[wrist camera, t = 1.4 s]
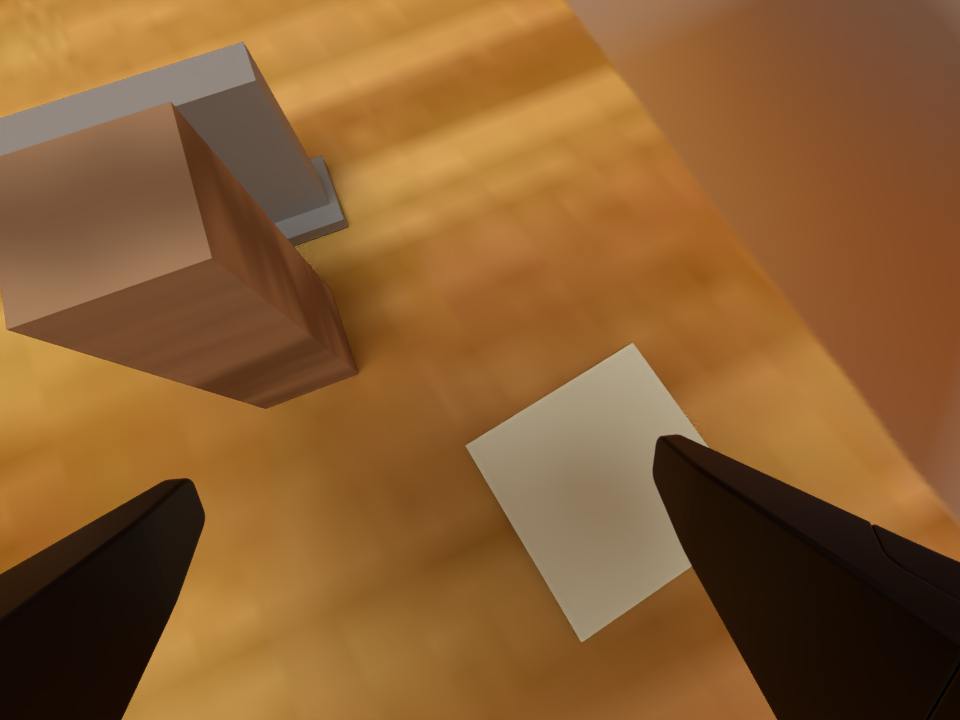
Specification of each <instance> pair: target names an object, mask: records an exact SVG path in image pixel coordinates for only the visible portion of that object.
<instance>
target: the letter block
mask: <svg viewBox="0 0 960 720" xmlns="http://www.w3.org/2000/svg"><path fill="white" fill-rule="evenodd" d="M0 284H1V291H2V299H3V306H4V314H5V321H6V329H7V330H9V331H13V332H16V333H19V334H22V335H26V336H29V337H32V338H35V339H39V340H42V341H45V342H49V343H52V344H55V345H58V346H62V347H65V348H68V349H72V350H75V351H78V352H81V353H85V354H88V355H91V356H94V357H98V358H101V359H104V360H108V361H111V362H114V363H117V364H121V365H124V366H127V367H130V368H134V369H137V370H140V371H144V372H147V373H150V374H153V375H157V376H160V377H163V378H166V379H170V380H173V381H176V382H180V383H183V384H186V385H189V386H193V387H196V388H199V389H202V390H206V391H209V392H212V393H216V394H219V395H222V396H225V397H229V398H232V399H235V400H238V401H242V402H245V403H248V404H252V405H255V406H258V407H261V408H265V409H266V408H269V407H271V406H274V405H277V404H279V403H282V402H285V401H287V400H290V399H293V398H295V397H298V396H301V395H303V394H306V393H309V392H311V391H314V390H317V389H319V388H322V387H325V386H327V385H330V384H333V383H335V382H338V381H341V380H343V379H346V378H349V377H351V376H354V375H357V374H358V371H357V368H356V365H355V362H354V359H353V356H352V353H351V350H350V347H349V344H348V341H347V338H346V335H345V331H344V328H343V325H342V322H341V319H340V316H339V313H338V310H337V307H336V304H335V301H334V298H333V295H332V292H331V290H330V289H329V288H328V286H327V285H326V284H325V283H324V282H323V280H322V279H321V278H320V277H319V276H318V275H317V273H316V272H315V271H314V270H313V269H312V267H311V266H310V265H309V264H308V263H307V262H306V260H305V259H304V258H303V257H302V256H301V255H300V253H299V252H298V251H297V250H296V249H295V247H294V246H293V245H292V244H291V243H290V242H289V240H288V239H287V238H286V237H285V236H284V234H283V233H282V232H281V231H280V230H279V229H278V227H277V226H276V225H275V224H274V223H273V221H272V220H271V219H270V218H269V217H268V216H267V214H266V213H265V212H264V211H263V210H262V208H261V207H260V206H259V205H258V204H257V203H256V201H255V200H254V199H253V198H252V197H251V196H250V194H249V193H248V192H247V191H246V190H245V188H244V187H243V186H242V185H241V184H240V183H239V181H238V180H237V179H236V178H235V177H234V175H233V174H232V173H231V172H230V171H229V170H228V168H227V167H226V166H225V165H224V164H223V162H222V161H221V160H220V159H219V158H218V157H217V155H216V154H215V153H214V152H213V151H212V150H211V148H210V147H209V146H208V145H207V144H206V142H205V141H204V140H203V139H202V138H201V137H200V135H199V134H198V133H197V132H196V131H195V129H194V128H193V127H192V126H191V125H190V124H189V122H188V121H187V120H186V119H185V118H184V116H183V115H182V114H181V113H180V112H179V111H178V109H177V108H176V107H175V106H174V105H173V104H172V102H171V101H170V102H167V103H164V104H161V105H158V106H155V107H152V108H148V109H145V110H142V111H139V112H136V113H133V114H130V115H127V116H124V117H120V118H117V119H114V120H111V121H108V122H105V123H102V124H99V125H96V126H92V127H89V128H86V129H83V130H80V131H77V132H74V133H71V134H68V135H64V136H61V137H58V138H55V139H52V140H49V141H46V142H43V143H39V144H36V145H33V146H30V147H27V148H24V149H21V150H18V151H15V152H11V153H8V154H5V155H2V156H0Z"/></svg>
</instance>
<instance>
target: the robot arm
mask: <svg viewBox="0 0 960 720" xmlns="http://www.w3.org/2000/svg"><path fill="white" fill-rule="evenodd" d="M652 474H653V479H654V483H655V485H656V487H657V490H658V492H659V495H660V497H661V499H662V502H663V504H664V506H665V509H666V511H667V513H668V516H669V518H670V521H671V523H672V525H673V528H674V530H675V532H676V535H677V537H678V539H679V542H680V544H681V546H682V548H683V550H684V552H685V554H686V556H687V558H688V560H689V562H690V563H691V565H692V567H693V569H694V571H695V572H696V574H697V576H698V578H699V580H700V581H701V583H702V585H703V587H704V589H705V590H706V592H707V594H708V596H709V598H710V599H711V601H712V603H713V605H714V607H715V608H716V610H717V612H718V614H719V616H720V617H721V619H722V621H723V623H724V625H725V626H726V628H727V630H728V632H729V634H730V635H731V637H732V639H733V641H734V643H735V644H736V646H737V648H738V650H739V652H740V653H741V655H742V657H743V659H744V661H745V662H746V664H747V666H748V668H749V670H750V671H751V673H752V675H753V677H754V679H755V680H756V682H757V684H758V686H759V688H760V689H761V691H762V693H763V695H764V697H765V698H766V700H767V702H768V704H769V706H770V707H771V709H772V711H773V713H774V715H775V716H776V718H777V720H960V562H958V561H956V560H954V559H951V558H949V557H946V556H944V555H942V554H939V553H937V552H935V551H933V550H931V549H928V548H926V547H924V546H922V545H919V544H917V543H915V542H913V541H910V540H908V539H906V538H904V537H901V536H899V535H897V534H895V533H893V532H891V531H888V530H886V529H884V528H882V527H880V526H878V525H871V523H870V522H869V521H867V520H864V519H862V518H860V517H858V516H856V515H853V514H851V513H849V512H847V511H845V510H843V509H840V508H838V507H836V506H834V505H832V504H830V503H827V502H825V501H823V500H821V499H819V498H817V497H814V496H812V495H810V494H808V493H806V492H803V491H801V490H799V489H797V488H795V487H793V486H790V485H788V484H786V483H784V482H782V481H780V480H777V479H775V478H773V477H771V476H769V475H767V474H764V473H762V472H760V471H758V470H756V469H753V468H751V467H749V466H747V465H745V464H743V463H740V462H738V461H736V460H734V459H732V458H730V457H727V456H725V455H723V454H721V453H719V452H717V451H714V450H712V449H710V448H708V447H706V446H704V445H701V444H699V443H697V442H695V441H693V440H691V439H688V438H686V437H684V436H682V435H678V434H675V435H664V436H660V437H659V438H658V439H657V441H656V445H655V453H654V460H653V468H652ZM204 522H205V513H204V509H203V507H202V504H201V501H200V498H199V496H198V493H197V490H196V488H195V485H194V483H193V482H192V481H191V480H190V479H188V478H182V479H170V480H165V481H163V482H161V483H159V484H157V485H156V486H154V487H152V488H150V489H149V490H147V491H145V492H143V493H142V494H140V495H138V496H136V497H135V498H133V499H131V500H129V501H128V502H126V503H124V504H122V505H121V506H119V507H117V508H115V509H114V510H112V511H110V512H108V513H107V514H105V515H103V516H102V517H100V518H98V519H96V520H95V521H93V522H91V523H89V524H88V525H86V526H84V527H82V528H81V529H79V530H77V531H75V532H74V533H72V534H70V535H68V536H67V537H65V538H63V539H61V540H60V541H58V542H56V543H54V544H53V545H51V546H49V547H47V548H46V549H44V550H42V551H40V552H39V553H37V554H35V555H33V556H32V557H30V558H28V559H26V560H25V561H23V562H21V563H19V564H18V565H16V566H14V567H12V568H11V569H9V570H7V571H6V572H4V573H2V574H0V720H122V718H123V715H124V713H125V711H126V709H127V707H128V705H129V703H130V701H131V698H132V696H133V694H134V692H135V690H136V688H137V686H138V684H139V681H140V679H141V677H142V675H143V673H144V671H145V669H146V667H147V664H148V662H149V660H150V658H151V656H152V654H153V652H154V650H155V647H156V645H157V643H158V641H159V639H160V637H161V635H162V633H163V630H164V628H165V626H166V624H167V622H168V620H169V618H170V615H171V613H172V611H173V609H174V606H175V604H176V602H177V599H178V597H179V594H180V591H181V589H182V586H183V583H184V580H185V577H186V575H187V572H188V569H189V566H190V563H191V560H192V558H193V555H194V552H195V549H196V546H197V543H198V541H199V538H200V535H201V532H202V529H203V526H204Z"/></svg>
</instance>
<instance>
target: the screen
mask: <svg viewBox="0 0 960 720" xmlns="http://www.w3.org/2000/svg"><path fill="white" fill-rule="evenodd" d="M170 101H171V102H172V104H173V105H174V106H175V107H176V108H177V109H178V111H179V112H180V113H181V114H182V115H183V116H184V118H185V119H186V120H187V121H188V122H189V124H190V125H191V126H192V127H193V128H194V129H195V131H196V132H197V133H198V134H199V135H200V137H201V138H202V139H203V140H204V141H205V142H206V144H207V145H208V146H209V147H210V148H211V150H212V151H213V152H214V153H215V154H216V155H217V157H218V158H219V159H220V160H221V161H222V162H223V164H224V165H225V166H226V167H227V168H228V170H229V171H230V172H231V173H232V174H233V175H234V177H235V178H236V179H237V180H238V181H239V183H240V184H241V185H242V186H243V187H244V188H245V190H246V191H247V192H248V193H249V194H250V196H251V197H252V198H253V199H254V200H255V201H256V203H257V204H258V205H259V206H260V207H261V208H262V210H263V211H264V212H265V213H266V214H267V216H268V217H269V218H270V219H271V220H272V221H273V223H274V224H275V225H276V226H277V227H278V229H279V230H280V231H281V232H282V233H283V234H284V236H285V237H286V238H287V239H288V240H289V242H290V243H291V244H292V245H293V246H296V245H299V244H301V243H304V242H307V241H310V240H313V239H316V238H319V237H321V236H324V235H327V234H330V233H333V232H336V231H338V230H341V229H344V228H347V227H348V225H347V222H346V220H345V217H344V214H343V211H342V208H341V205H340V203H339V200H338V197H337V194H336V191H335V188H334V186H333V183H332V180H331V177H330V174H329V171H328V169H327V166H326V164H325V162H324V160H323V158H322V156H318V157H315V158H312V159H309V157H308V155H307V154H306V152H305V150H304V148H303V146H302V145H301V143H300V141H299V139H298V138H297V136H296V134H295V132H294V131H293V129H292V127H291V125H290V123H289V122H288V120H287V118H286V116H285V115H284V113H283V111H282V109H281V107H280V106H279V104H278V102H277V100H276V99H275V97H274V95H273V93H272V92H271V90H270V88H269V86H268V84H267V83H266V81H265V79H264V77H263V76H262V74H261V72H260V70H259V69H258V67H257V65H256V63H255V61H254V60H253V58H252V56H251V54H250V53H249V51H248V49H247V47H246V45H245V44H244V42H240V43H237V44H234V45H231V46H228V47H224V48H221V49H218V50H215V51H212V52H209V53H205V54H202V55H199V56H196V57H193V58H190V59H186V60H183V61H180V62H177V63H174V64H171V65H167V66H164V67H161V68H158V69H155V70H152V71H148V72H145V73H142V74H139V75H136V76H133V77H129V78H126V79H123V80H120V81H117V82H113V83H110V84H107V85H104V86H101V87H98V88H94V89H91V90H88V91H85V92H82V93H79V94H75V95H72V96H69V97H66V98H63V99H60V100H56V101H53V102H50V103H47V104H44V105H41V106H37V107H34V108H31V109H28V110H25V111H22V112H18V113H15V114H12V115H9V116H6V117H3V118H0V156H2V155H5V154H8V153H11V152H15V151H18V150H21V149H24V148H27V147H30V146H33V145H36V144H39V143H43V142H46V141H49V140H52V139H55V138H58V137H61V136H64V135H68V134H71V133H74V132H77V131H80V130H83V129H86V128H89V127H92V126H96V125H99V124H102V123H105V122H108V121H111V120H114V119H117V118H120V117H124V116H127V115H130V114H133V113H136V112H139V111H142V110H145V109H148V108H152V107H155V106H158V105H161V104H164V103H167V102H170Z"/></svg>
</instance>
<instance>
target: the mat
mask: <svg viewBox="0 0 960 720" xmlns="http://www.w3.org/2000/svg"><path fill="white" fill-rule="evenodd" d="M675 434H678V435H682V436H684V437H686V438H688V439H691V440H693V441H695V442H697V443H699V444H701V445H704V446H706V447H708V446H707V445H706V443H705V442H704V440H703V439H702V438H701V436H700V435H699V433H698V432H697V431H696V429H695V428H694V427H693V425H692V424H691V422H690V421H689V420H688V418H687V417H686V416H685V414H684V413H683V411H682V410H681V409H680V407H679V406H678V404H677V403H676V402H675V400H674V399H673V398H672V396H671V395H670V393H669V392H668V391H667V389H666V388H665V387H664V385H663V384H662V382H661V381H660V380H659V378H658V377H657V376H656V374H655V373H654V371H653V370H652V369H651V367H650V366H649V364H648V363H647V362H646V360H645V359H644V358H643V356H642V355H641V353H640V352H639V351H638V349H637V348H636V347H635V345H634V344H633V343H631V344H630V345H628V346H626V347H625V348H623V349H621V350H620V351H618V352H617V353H615V354H613V355H612V356H610V357H608V358H607V359H605V360H604V361H602V362H600V363H599V364H597V365H595V366H594V367H592V368H591V369H589V370H587V371H586V372H584V373H582V374H581V375H579V376H578V377H576V378H574V379H573V380H571V381H569V382H568V383H566V384H565V385H563V386H561V387H560V388H558V389H556V390H555V391H553V392H552V393H550V394H548V395H547V396H545V397H543V398H542V399H540V400H538V401H537V402H535V403H534V404H532V405H530V406H529V407H527V408H525V409H524V410H522V411H521V412H519V413H517V414H516V415H514V416H512V417H511V418H509V419H508V420H506V421H504V422H503V423H501V424H499V425H498V426H496V427H495V428H493V429H491V430H490V431H488V432H486V433H485V434H483V435H482V436H480V437H478V438H477V439H475V440H473V441H472V442H470V443H469V444H467V445H465V446H466V448H467V450H468V451H469V453H470V455H471V456H472V458H473V460H474V461H475V463H476V465H477V467H478V468H479V470H480V472H481V473H482V475H483V477H484V478H485V480H486V482H487V484H488V485H489V487H490V489H491V490H492V492H493V494H494V495H495V497H496V499H497V500H498V502H499V504H500V506H501V507H502V509H503V511H504V512H505V514H506V516H507V517H508V519H509V521H510V523H511V524H512V526H513V528H514V529H515V531H516V533H517V534H518V536H519V538H520V539H521V541H522V543H523V545H524V546H525V548H526V550H527V551H528V553H529V555H530V556H531V558H532V560H533V562H534V563H535V565H536V567H537V568H538V570H539V572H540V573H541V575H542V577H543V578H544V580H545V582H546V584H547V585H548V587H549V589H550V590H551V592H552V594H553V595H554V597H555V599H556V601H557V602H558V604H559V606H560V607H561V609H562V611H563V612H564V614H565V616H566V617H567V619H568V621H569V623H570V624H571V626H572V628H573V629H574V631H575V633H576V634H577V636H578V638H579V640H580V641H581V643H582V642H583V641H585V640H586V639H588V638H589V637H591V636H592V635H593V634H595V633H596V632H598V631H599V630H601V629H602V628H604V627H605V626H606V625H608V624H609V623H611V622H612V621H614V620H615V619H617V618H618V617H619V616H621V615H622V614H624V613H625V612H627V611H628V610H629V609H631V608H632V607H634V606H635V605H637V604H638V603H640V602H641V601H642V600H644V599H645V598H647V597H648V596H650V595H651V594H653V593H654V592H655V591H657V590H658V589H660V588H661V587H663V586H664V585H666V584H667V583H668V582H670V581H671V580H673V579H674V578H676V577H677V576H678V575H680V574H681V573H683V572H684V571H686V570H687V569H689V568H690V567H691V566H692V565H691V563H690V562H689V560H688V558H687V556H686V554H685V552H684V550H683V548H682V546H681V544H680V542H679V539H678V537H677V535H676V532H675V530H674V528H673V525H672V523H671V521H670V518H669V516H668V513H667V511H666V509H665V506H664V504H663V502H662V499H661V497H660V495H659V492H658V490H657V487H656V485H655V483H654V479H653V474H652V468H653V460H654V453H655V445H656V441H657V439H658V438H659V437H660V436H664V435H675ZM708 448H709V447H708Z"/></svg>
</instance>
